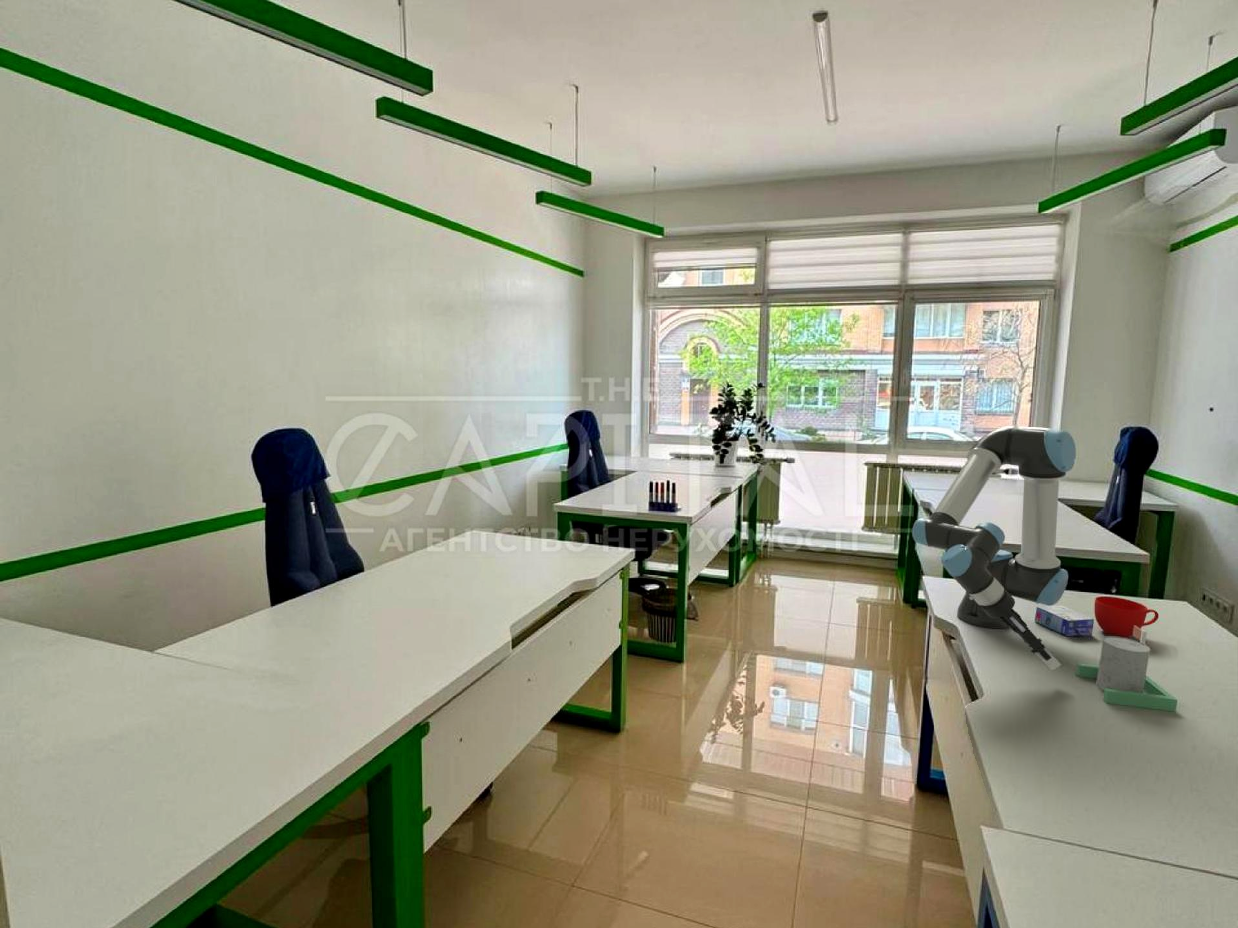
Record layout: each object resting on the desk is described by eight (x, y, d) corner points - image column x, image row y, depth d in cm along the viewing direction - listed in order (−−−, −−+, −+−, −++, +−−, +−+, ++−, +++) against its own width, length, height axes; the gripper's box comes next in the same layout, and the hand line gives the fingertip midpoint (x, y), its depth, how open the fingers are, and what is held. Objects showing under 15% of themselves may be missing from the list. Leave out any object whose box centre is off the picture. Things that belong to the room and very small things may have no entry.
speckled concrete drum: (1145, 703, 157) (1153, 655, 155) (1097, 691, 162) (1104, 645, 160) (1140, 687, 165) (1147, 642, 163) (1094, 677, 170) (1100, 633, 168)
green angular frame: (1069, 667, 175) (1076, 618, 173) (1130, 674, 172) (1138, 625, 170) (1106, 702, 156) (1114, 648, 154) (1175, 711, 153) (1184, 655, 151)
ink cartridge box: (1033, 622, 209) (1072, 639, 194) (1035, 606, 208) (1074, 622, 194) (1059, 621, 210) (1100, 637, 196) (1061, 604, 210) (1102, 620, 196)
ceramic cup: (1167, 646, 192) (1172, 614, 191) (1104, 639, 196) (1108, 608, 194) (1142, 629, 205) (1146, 599, 204) (1082, 623, 208) (1086, 594, 207)
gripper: (971, 597, 173) (1032, 664, 172) (988, 614, 161) (1053, 686, 160) (995, 580, 172) (1056, 647, 170) (1014, 596, 159) (1080, 669, 158)
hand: (1055, 666), depth 165 cm, fingers closed
